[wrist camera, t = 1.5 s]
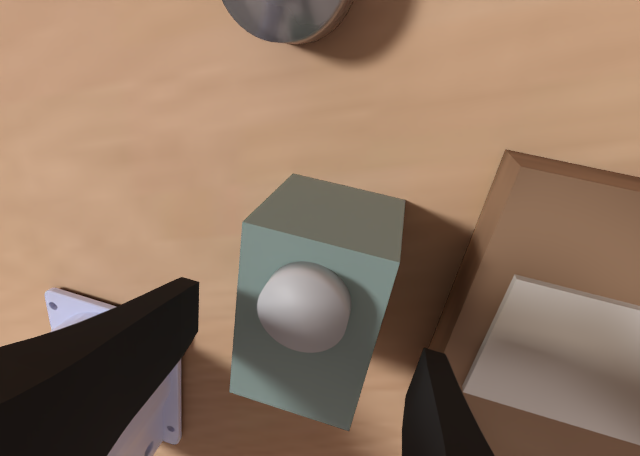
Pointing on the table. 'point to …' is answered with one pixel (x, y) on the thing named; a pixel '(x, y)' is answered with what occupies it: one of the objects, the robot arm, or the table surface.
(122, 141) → the table surface
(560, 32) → the table surface
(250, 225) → the block
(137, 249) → the table surface
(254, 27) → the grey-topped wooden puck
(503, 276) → the stand
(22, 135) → the table surface
